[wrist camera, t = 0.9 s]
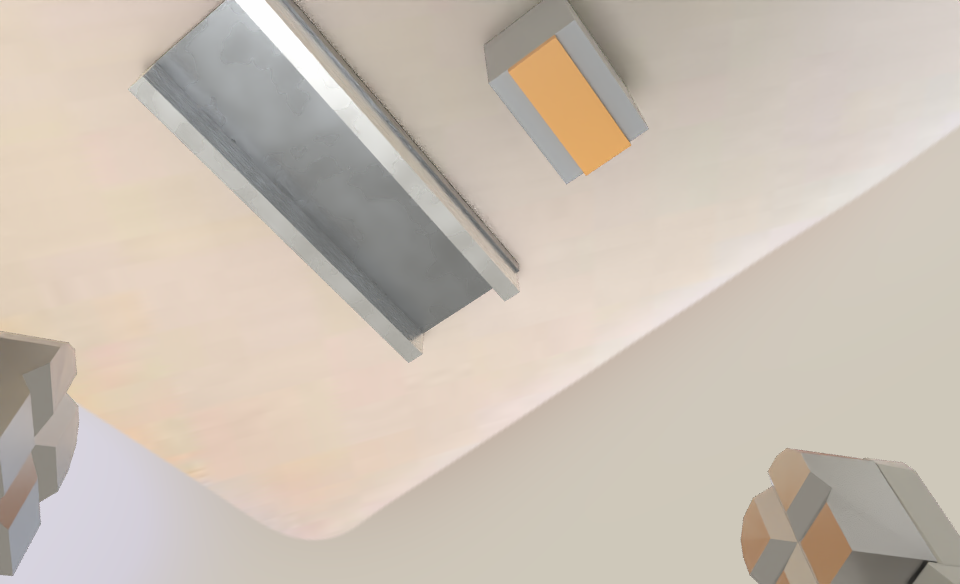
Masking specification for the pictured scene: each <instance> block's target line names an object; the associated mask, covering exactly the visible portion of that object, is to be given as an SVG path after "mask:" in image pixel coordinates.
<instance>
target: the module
mask: <svg viewBox="0 0 960 584" xmlns="http://www.w3.org/2000/svg"><path fill="white" fill-rule="evenodd" d="M484 51H485V59H486V66H487V74H488V81H489V84H490V86H491V87H492V88H493V89H494V91H495V92H496V93H497V95H498V96H499V97H500V99H501V100H502V101H503V102H504V104H505V105H506V106H507V108H508V109H509V110H510V112H511V113H512V114H513V115H514V117H515V118H516V119H517V121H518V122H519V123H520V125H521V126H522V127H523V128H524V130H525V131H526V132H527V134H528V135H529V136H530V138H531V139H532V140H533V141H534V143H535V144H536V145H537V147H538V148H539V149H540V151H541V152H542V153H543V154H544V156H545V157H546V158H547V160H548V161H549V162H550V164H551V165H552V166H553V167H554V169H555V170H556V171H557V173H558V174H559V175H560V176H561V178H562V179H563V180H564V182H565V183H566V184H568V183H569V182H571V181H572V180H574V179H575V178H577V177H578V176H580V175H581V174H583V173H584V174H585V175H588V174H589V173H591V172H592V171H594V170H595V169H597V168H598V167H600V166H601V165H603V164H604V163H606V162H607V161H609V160H610V159H612V158H613V157H615V156H616V155H618V154H619V153H621V152H622V151H624V150H625V149H627V148H628V147H630V146H631V144H630V141H632V140H633V139H635V138H636V137H638V136H639V135H641V134H642V133H644V132H645V131H646V130H648V129H649V128H648V126H647V125H646V123H645V121H644V119H643V117H642V115H641V114H640V112H639V110H638V108H637V106H636V104H635V103H634V101H633V99H632V97H631V95H630V93H629V92H628V90H627V88H626V86H625V85H624V83H623V82H622V80H621V79H620V77H619V76H618V74H617V73H616V71H615V70H614V68H613V67H612V65H611V64H610V63H609V61H608V60H607V58H606V57H605V55H604V54H603V52H602V51H601V49H600V48H599V46H598V45H597V43H596V42H595V40H594V39H593V37H592V36H591V34H590V33H589V31H588V30H587V28H586V27H585V26H584V24H583V23H582V21H581V20H580V18H579V17H578V15H577V14H576V12H575V11H574V9H573V8H572V6H571V5H570V3H569V2H568V0H543V1H541V2H540V3H539V4H537V5H536V6H535V7H534V8H532V9H531V10H530V11H528V12H527V13H526V14H524V15H523V16H522V17H520V18H519V19H518V20H516V21H515V22H514V23H513V24H511V25H510V26H509V27H507V28H506V29H505V30H503V31H502V32H501V33H499V34H498V35H497V36H495V37H494V38H493V39H491V40H490V41H489V42H488V43H486V44H485V45H484Z"/></svg>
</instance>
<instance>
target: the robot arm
mask: <svg viewBox="0 0 960 584" xmlns="http://www.w3.org/2000/svg"><path fill="white" fill-rule="evenodd" d="M76 375H77V369H76V357H75V349H74V348H73V347H72V346H71V345H70V343H69V342H63V341H57V340H51V339H45V338H39V337H33V336H27V335H21V334H15V333H9V332H3V331H0V575H8V576H13V575H14V573H15V571H16V569H17V567H18V566H19V563H20V562H21V560H22V558H23V556H24V554H25V552H26V551H27V549H28V547H29V545H30V543H31V541H32V539H33V537H34V536H35V534H36V532H37V530H38V528H39V526H40V524H41V523H40V522H41V521H40V506H39V502H41V501H42V500H44V499H46V498H47V497H49V496H51V495H52V494H54V493H56V492H58V490H59V488H60V486H61V484H62V482H63V480H64V478H65V476H66V474H67V472H68V470H69V467H70V463H71V460H72V457H73V453H74V450H75V446H76V442H77V434H78V433H77V432H78V425H79V415H78V405H77V404H76V403H75V402H74V401H73V399H72V398H71V397H70V396H69V395H68V394H67V390H68V388H69V387H70V385H71V383H72V381H73V380H74V378H75V376H76ZM768 473H769V477H770V480H771V484H772V486H771V487H770V488H768V489H767V490H765V491H764V492H762V493H760V494H758V495H757V496H755V497H754V498H753V499H752V501H751V503H750V505H749V507H748V509H747V511H746V513H745V516H744V518H743V525H742V534H741V545H742V552H743V558H744V561H745V563H746V566H747V569H748V572H749V574H750V576H751V577H752V578H754V579H755V580H756V581H757V582H758V583H759V584H960V536H959V534H958V533H957V531H956V530H955V528H954V527H953V525H952V524H951V522H950V521H949V520H948V518H947V517H946V515H945V514H944V512H943V511H942V509H941V508H940V506H939V505H938V503H937V502H936V500H935V499H934V497H933V496H932V494H931V493H930V492H929V490H928V489H927V487H926V486H925V484H924V483H923V481H922V480H921V478H920V477H919V476H918V474H917V473H916V471H915V470H914V469H912V468H910V467H909V466H908V465H906V464H905V463H903V462H894V461H887V460H879V459H870V458H863V459H860V458H855V457H847V456H840V455H833V454H825V453H819V452H812V451H804V450H798V449H790V448H786V449H785V450H784V451H782V452H781V453H780V454H779V455H777V456H776V458H775V460H774V461H773V463H772V465H771V467H770V468H769V470H768Z"/></svg>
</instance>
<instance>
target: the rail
mask: <svg viewBox="0 0 960 584" xmlns="http://www.w3.org/2000/svg"><path fill="white" fill-rule="evenodd" d="M128 90H129V91H130V92H131V93H132V94H133V95H134V96H135V97H136V98H137V99H138V100H139V101H140V102H141V103H142V104H143V105H144V106H145V107H146V108H147V109H148V110H149V111H151V112H152V113H153V114H154V115H155V116H156V117H157V118H158V119H159V120H160V121H161V122H162V123H163V124H164V125H165V126H166V127H167V128H168V129H169V130H170V131H171V132H172V133H173V134H174V135H175V136H176V137H177V138H178V139H179V140H180V141H181V142H182V143H183V144H184V145H185V146H186V147H187V148H188V149H190V150H191V151H192V152H193V153H194V154H195V155H196V156H197V157H198V158H199V159H200V160H201V161H202V162H203V163H204V164H205V165H206V166H207V167H208V168H209V169H210V170H211V171H212V172H213V173H214V174H215V175H216V176H217V177H218V178H219V179H220V180H221V181H222V182H223V183H224V184H225V185H226V186H228V187H229V188H230V189H231V190H232V191H233V192H234V193H235V194H236V195H237V196H238V197H239V198H240V199H241V200H242V201H243V202H244V203H245V204H246V205H247V206H248V207H249V208H250V209H251V210H252V211H253V212H254V213H255V214H256V215H257V216H258V217H259V218H260V219H261V220H262V221H263V222H264V223H265V224H267V225H268V226H269V227H270V228H271V229H272V230H273V231H274V232H275V233H276V234H277V235H278V236H279V237H280V238H281V239H282V240H283V241H284V242H285V243H286V244H287V245H288V246H289V247H290V248H291V249H292V250H293V251H294V252H295V253H296V254H297V255H298V256H299V257H300V258H301V259H302V260H303V261H304V262H306V263H307V264H308V265H309V266H310V267H311V268H312V269H313V270H314V271H315V272H316V273H317V274H318V275H319V276H320V277H321V278H322V279H323V280H324V281H325V282H326V283H327V284H328V285H329V286H330V287H331V288H332V289H333V290H334V291H335V292H336V293H337V294H338V295H339V296H340V297H341V298H342V299H344V300H345V301H346V302H347V303H348V304H349V305H350V306H351V307H352V308H353V309H354V310H355V311H356V312H357V313H358V314H359V315H360V316H361V317H362V318H363V319H364V320H365V321H366V322H367V323H368V324H369V325H370V326H371V327H372V328H373V329H374V330H375V331H376V332H377V333H378V334H379V335H380V336H381V337H383V338H384V339H385V340H386V341H387V342H388V343H389V344H390V345H391V346H392V347H393V348H394V349H395V350H396V351H397V352H398V353H399V354H400V355H401V356H402V357H403V358H404V359H405V360H406V361H407V362H408V363H409V362H411V361H412V360H414V359H416V358H417V357H419V356H420V355H422V353H423V333H424V332H426V331H428V330H429V329H431V328H432V327H434V326H435V325H437V324H438V323H440V322H441V321H443V320H444V319H446V318H448V317H449V316H451V315H452V314H454V313H455V312H457V311H458V310H460V309H461V308H463V307H465V306H466V305H468V304H469V303H471V302H472V301H474V300H475V299H477V298H478V297H480V296H481V295H483V294H485V293H486V292H488V291H489V290H491V289H492V288H493V289H494V290H495V291H496V292H497V293H498V295H499V296H500V297H501V298H502V299H503V300H504V301H506V300H508V299H509V298H511V297H513V296H514V295H516V294H517V293H519V292H520V290H519V282H518V275H517V272H518V271H519V265H518V263H517V262H516V260H515V259H514V258H513V257H512V256H511V255H510V253H509V252H508V251H507V250H506V249H505V248H504V246H503V245H502V244H501V243H500V242H499V241H498V239H497V238H496V237H495V236H494V235H493V234H492V232H491V231H490V230H489V229H488V228H487V227H486V225H485V224H484V223H483V222H482V221H481V220H480V218H479V217H478V216H477V215H476V214H475V213H474V211H473V210H472V209H471V208H470V207H469V206H468V204H467V203H466V202H465V201H464V200H463V199H462V197H461V196H460V195H459V194H458V193H457V192H456V190H455V189H454V188H453V187H452V186H451V185H450V183H449V182H448V181H447V180H446V179H445V178H444V176H443V175H442V174H441V173H440V172H439V171H438V169H437V168H436V167H435V166H434V165H433V164H432V162H431V161H430V160H429V159H428V158H427V157H426V155H425V154H424V153H423V152H422V151H421V150H420V148H419V147H418V146H417V145H416V144H415V143H414V141H413V140H412V139H411V138H410V137H409V136H408V134H407V133H406V132H405V131H404V130H403V129H402V127H401V126H400V125H399V124H398V123H397V122H396V120H395V119H394V118H393V117H392V116H391V115H390V113H389V112H388V111H387V110H386V109H385V108H384V106H383V105H382V104H381V103H380V102H379V101H378V99H377V98H376V97H375V96H374V95H373V94H372V92H371V91H370V90H369V89H368V88H367V87H366V85H365V84H364V83H363V82H362V81H361V80H360V78H359V77H358V76H357V75H356V74H355V73H354V71H353V70H352V69H351V68H350V67H349V66H348V64H347V63H346V62H345V61H344V60H343V59H342V57H341V56H340V55H339V54H338V53H337V52H336V50H335V49H334V48H333V47H332V46H331V45H330V43H329V42H328V41H327V40H326V39H325V38H324V36H323V35H322V34H321V33H320V32H319V31H318V29H317V28H316V27H315V26H314V25H313V24H312V22H311V21H310V20H309V19H308V18H307V17H306V15H305V14H304V13H303V12H302V11H301V10H300V8H299V7H298V6H297V5H296V4H295V3H294V1H293V0H225V1H224V2H223V3H221V4H220V5H219V6H218V7H217V8H216V9H215V10H214V11H212V12H211V13H210V14H209V15H208V16H207V17H206V18H204V19H203V20H202V21H201V22H200V23H199V24H198V25H197V26H195V27H194V28H193V29H192V30H191V31H190V32H189V33H188V34H186V35H185V36H184V37H183V38H182V39H181V40H180V41H179V42H177V43H176V44H175V45H174V46H173V47H172V48H171V49H169V50H168V51H167V52H166V53H165V54H164V55H163V56H162V57H160V58H159V59H158V60H157V61H156V62H155V63H154V64H153V65H151V66H150V67H149V68H148V69H147V70H146V71H145V72H144V73H143V74H142V75H141V76H140V77H139V78H138V79H137V80H136V81H135V82H134V83H133V85H132V86H131V87H130V88H129V89H128Z"/></svg>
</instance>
